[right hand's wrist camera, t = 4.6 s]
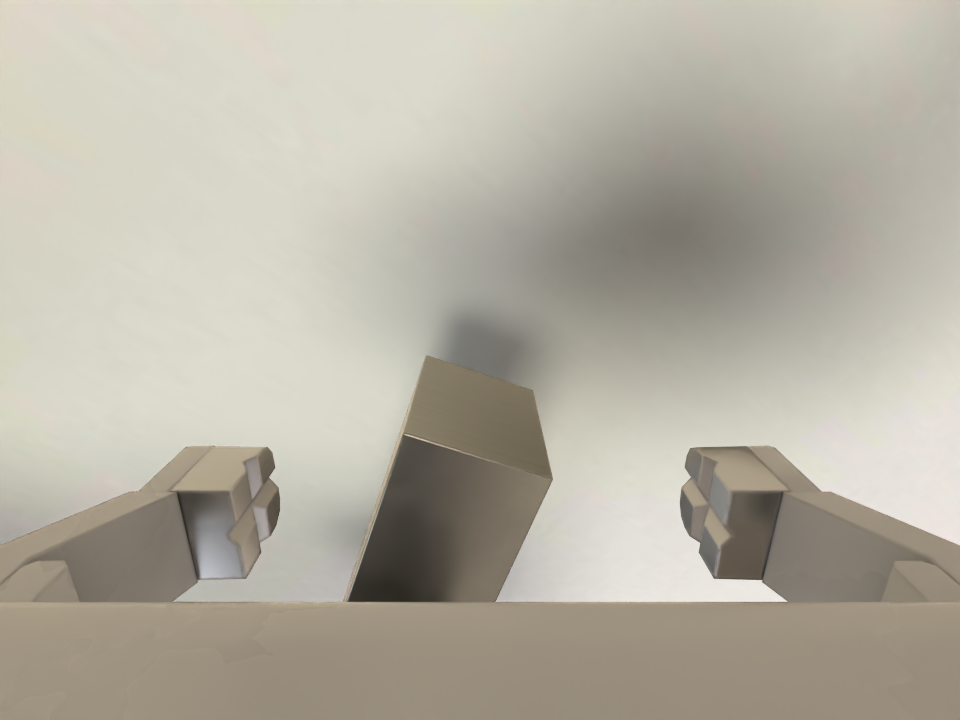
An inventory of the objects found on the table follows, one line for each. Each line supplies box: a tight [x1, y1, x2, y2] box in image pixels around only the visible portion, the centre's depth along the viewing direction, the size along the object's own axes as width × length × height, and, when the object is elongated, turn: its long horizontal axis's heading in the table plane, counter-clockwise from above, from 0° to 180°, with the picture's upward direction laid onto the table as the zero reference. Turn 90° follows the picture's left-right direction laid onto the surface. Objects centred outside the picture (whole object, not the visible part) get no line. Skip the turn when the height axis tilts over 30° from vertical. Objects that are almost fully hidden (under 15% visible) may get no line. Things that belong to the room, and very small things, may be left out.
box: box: [343, 356, 553, 602], centre depth 28 cm, size 21×6×9 cm, turn 161°
